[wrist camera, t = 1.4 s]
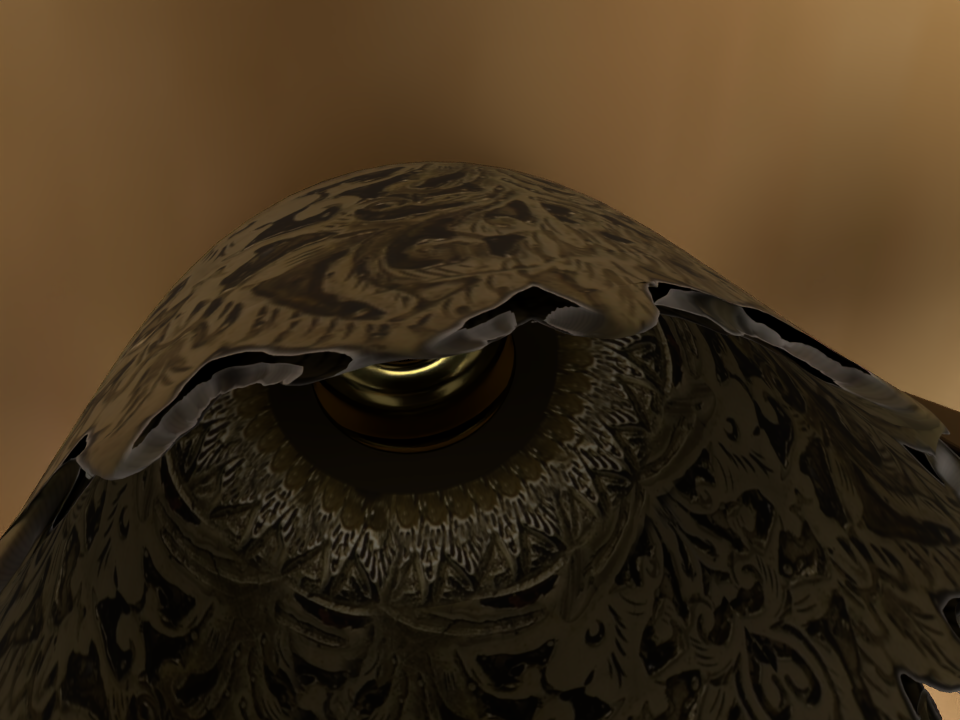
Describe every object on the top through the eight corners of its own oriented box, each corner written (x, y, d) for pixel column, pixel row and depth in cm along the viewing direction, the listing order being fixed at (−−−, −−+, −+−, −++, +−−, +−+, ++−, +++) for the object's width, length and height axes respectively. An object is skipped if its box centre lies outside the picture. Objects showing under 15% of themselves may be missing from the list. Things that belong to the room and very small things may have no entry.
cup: (752, 181, 13) (1273, 566, 6) (510, 564, 16) (677, 1131, 9) (238, -81, 10) (108, 65, 3) (54, 435, 13) (-225, 1104, 6)
